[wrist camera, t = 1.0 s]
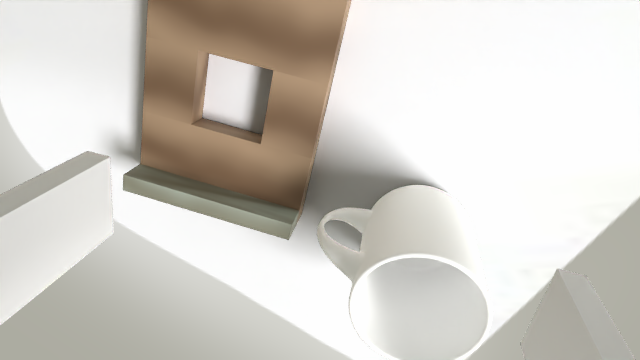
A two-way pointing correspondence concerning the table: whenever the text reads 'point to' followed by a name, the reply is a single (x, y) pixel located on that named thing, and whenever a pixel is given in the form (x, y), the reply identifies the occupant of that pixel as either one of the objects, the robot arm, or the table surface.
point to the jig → (226, 141)
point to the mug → (414, 275)
